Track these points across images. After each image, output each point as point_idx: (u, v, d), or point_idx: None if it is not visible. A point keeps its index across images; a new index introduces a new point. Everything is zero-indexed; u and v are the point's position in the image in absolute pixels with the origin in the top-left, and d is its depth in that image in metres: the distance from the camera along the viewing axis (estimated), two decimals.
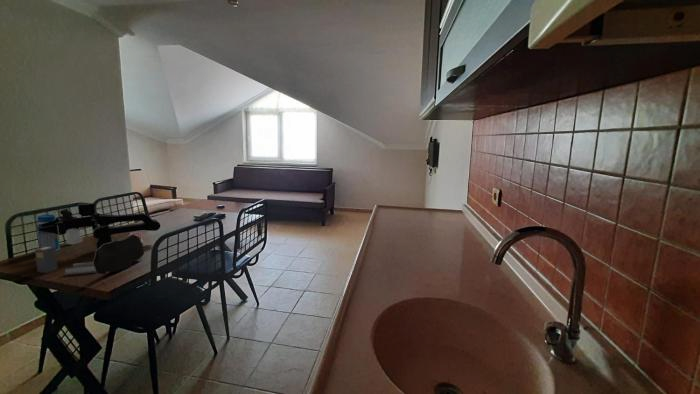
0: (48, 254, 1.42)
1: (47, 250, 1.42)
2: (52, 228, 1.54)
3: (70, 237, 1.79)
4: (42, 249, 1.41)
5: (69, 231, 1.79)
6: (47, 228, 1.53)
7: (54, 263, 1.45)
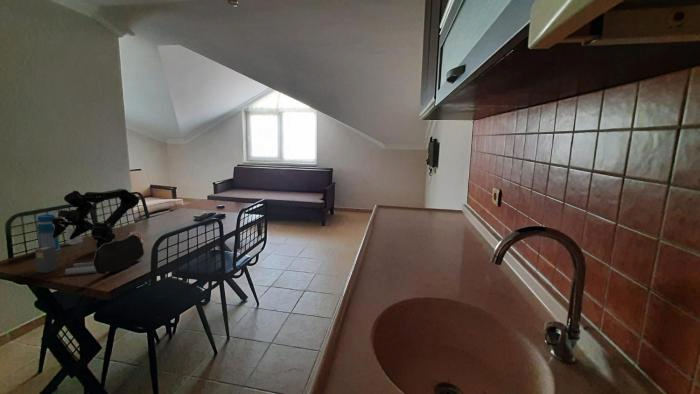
0: (48, 254, 1.42)
1: (47, 250, 1.42)
2: (78, 230, 1.52)
3: None
4: (42, 249, 1.41)
5: (69, 231, 1.79)
6: (75, 233, 1.51)
7: (54, 263, 1.45)
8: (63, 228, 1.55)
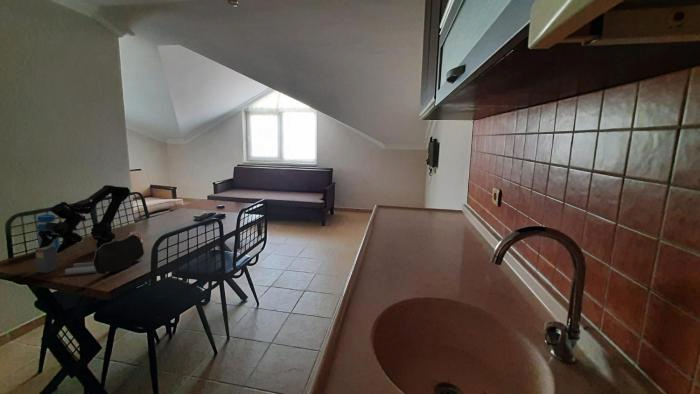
0: (48, 254, 1.42)
1: (47, 250, 1.42)
2: (66, 243, 1.47)
3: None
4: (42, 249, 1.41)
5: None
6: (63, 246, 1.45)
7: (54, 263, 1.45)
8: (50, 240, 1.49)
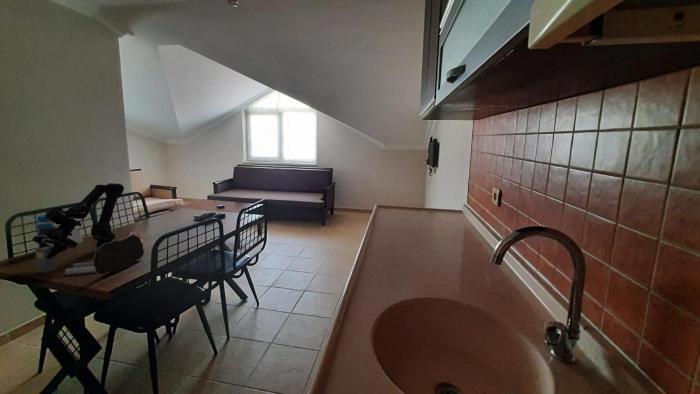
0: (48, 254, 1.42)
1: (47, 250, 1.42)
2: (57, 249, 1.44)
3: (70, 237, 1.79)
4: (42, 249, 1.41)
5: None
6: (53, 252, 1.43)
7: (54, 263, 1.45)
8: None
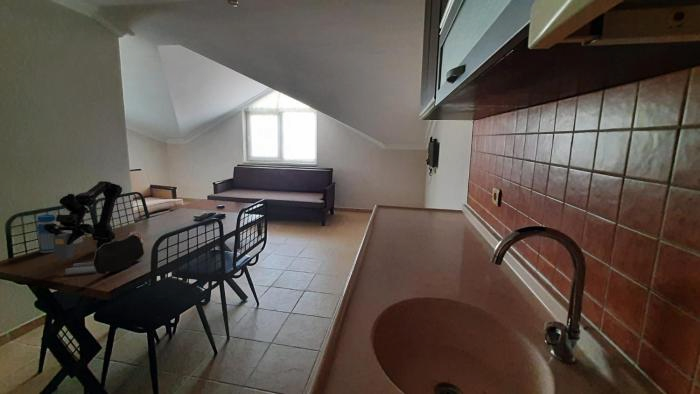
0: None
1: (67, 236, 1.42)
2: (75, 235, 1.45)
3: None
4: (61, 235, 1.41)
5: (69, 231, 1.79)
6: (73, 237, 1.44)
7: (72, 249, 1.45)
8: None
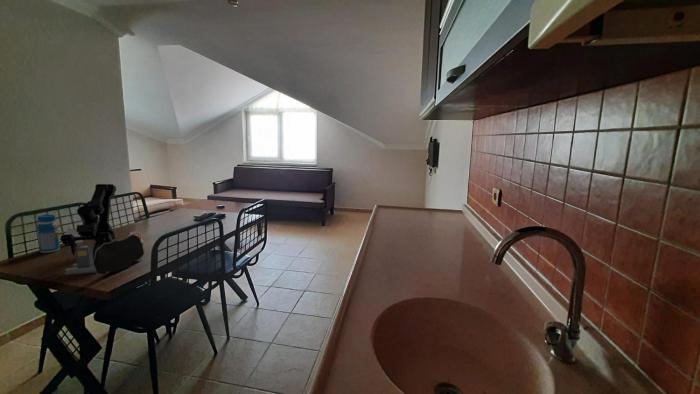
0: (89, 251, 1.46)
1: (89, 247, 1.46)
2: (98, 243, 1.50)
3: None
4: (83, 247, 1.44)
5: (69, 231, 1.79)
6: (97, 246, 1.48)
7: (92, 260, 1.49)
8: (75, 244, 1.47)
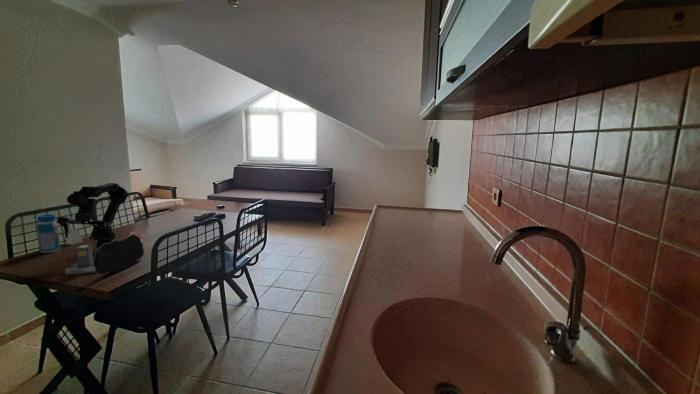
0: (89, 251, 1.46)
1: (89, 247, 1.46)
2: None
3: (70, 237, 1.79)
4: (84, 247, 1.44)
5: (69, 231, 1.79)
6: (94, 233, 1.57)
7: (92, 260, 1.49)
8: (69, 226, 1.54)
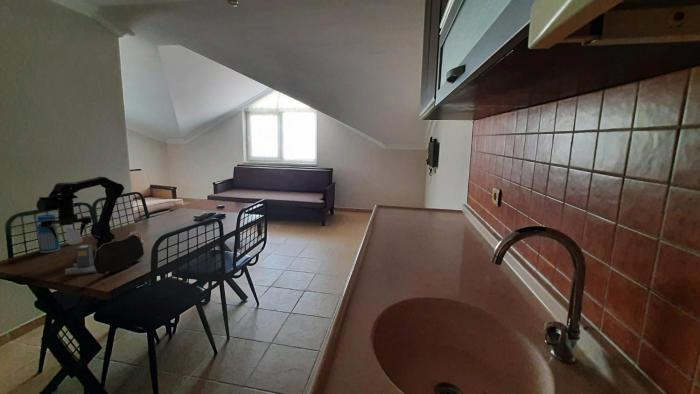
0: (89, 251, 1.46)
1: (89, 247, 1.46)
2: None
3: (70, 237, 1.79)
4: (84, 247, 1.44)
5: (69, 231, 1.79)
6: None
7: (92, 260, 1.49)
8: (54, 226, 1.53)
